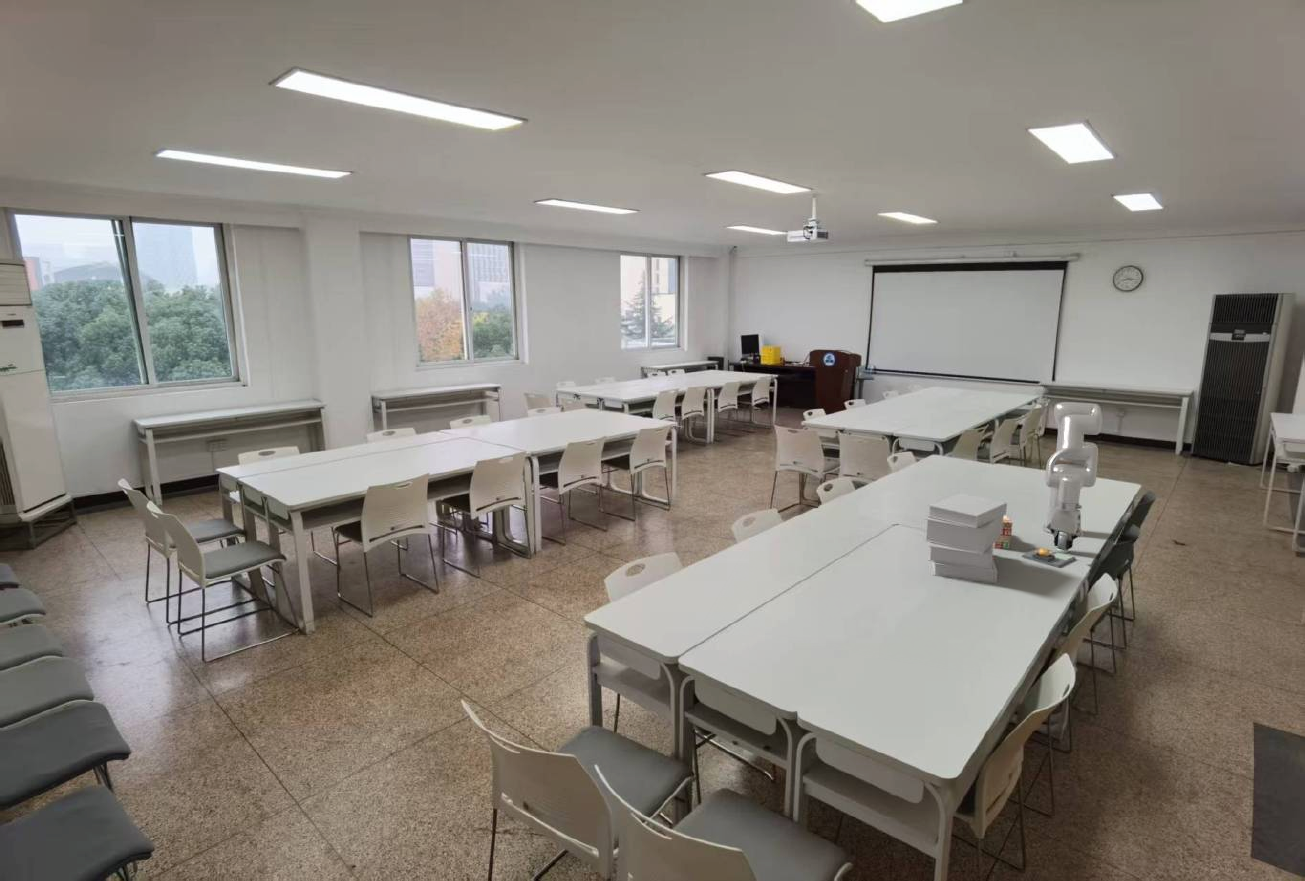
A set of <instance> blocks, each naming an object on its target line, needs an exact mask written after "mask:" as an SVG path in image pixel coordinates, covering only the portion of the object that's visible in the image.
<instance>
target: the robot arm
mask: <svg viewBox="0 0 1305 881" xmlns="http://www.w3.org/2000/svg"><path fill="white" fill-rule="evenodd" d="M1053 417H1054V421H1055V423H1056V427H1057V440H1056V450H1055V452H1054V453H1052V454H1051V456H1050V457H1049V459H1048V460H1047V462H1046V467H1045V475H1044V476H1045V478H1044V480H1045V485H1046V486H1047V487H1048V488H1050V494H1049V502H1048V512H1047V520H1046V524H1043V526H1042V531H1044V532H1045V533H1050V534H1052V536H1053V544H1054V547H1057V543H1058V535H1059V531H1062V532H1066V533H1068V537H1069V539H1068V540H1067V545H1066V549H1068V550H1070V549H1071V548H1073V543H1074V540H1075V539H1078V538H1081V537H1082V536H1084V533H1083V531H1082V529H1081V528H1082V514H1081V509H1082V508H1083V505H1081V504H1080V494H1081V490H1082V489H1083V488H1092V487H1094V486H1095V484H1096V480H1097V472H1098V464H1099V463H1098V462H1099V461H1098V460H1099V448H1098V445H1097V444H1096V443H1095V442H1089V441H1084V439H1085V436H1084V435H1091V436H1092V435H1093V436H1094V435H1096V436H1097V435H1099V434H1100V433H1101V430H1102V426H1103V417H1102V409H1101V406H1100V405H1099V404H1097V403H1090V402H1089V403H1088V402H1087V403H1086V402H1076V401H1075V402H1073V401H1063V402H1057V403H1056V404H1055V405H1054V408H1053ZM1057 461H1062V462H1068V463H1069V462H1071V463H1081V464H1084V465H1077V464H1076V465H1075V464H1067V463H1060V464H1059V463H1058V464H1056V462H1057Z"/></svg>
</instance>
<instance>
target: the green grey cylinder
mask: <svg viewBox="0 0 1305 881" xmlns="http://www.w3.org/2000/svg"><path fill="white" fill-rule="evenodd" d="M1068 539H1069V537H1068V533H1066V532H1062V531H1059V535H1058V543H1057V546H1056V552H1059V553H1062V554H1066V555H1067V554H1068V553H1069V549H1066V545H1067V540H1068Z"/></svg>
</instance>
